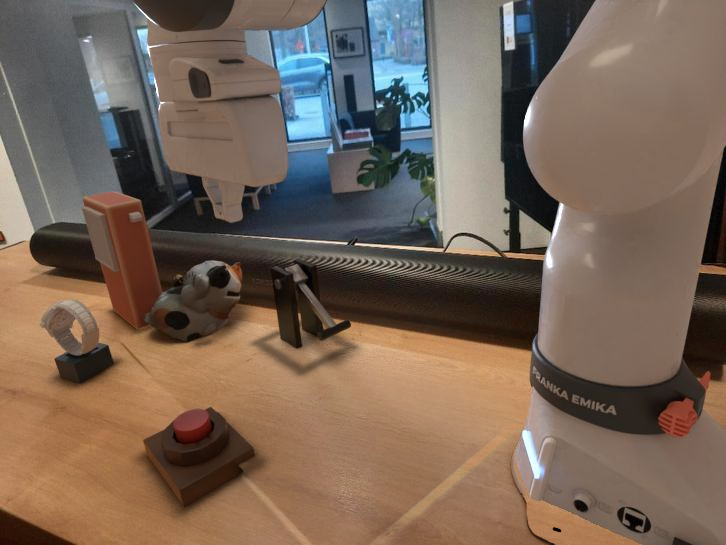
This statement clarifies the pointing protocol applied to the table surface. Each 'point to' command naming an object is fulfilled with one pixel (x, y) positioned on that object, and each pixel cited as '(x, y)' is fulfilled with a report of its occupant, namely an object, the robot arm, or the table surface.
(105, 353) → the watch
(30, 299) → the table surface
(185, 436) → the button
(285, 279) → the bracket
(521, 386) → the table surface
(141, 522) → the table surface
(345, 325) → the lever
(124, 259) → the control panel
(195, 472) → the button box
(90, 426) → the table surface
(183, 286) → the lucky cat figurine
